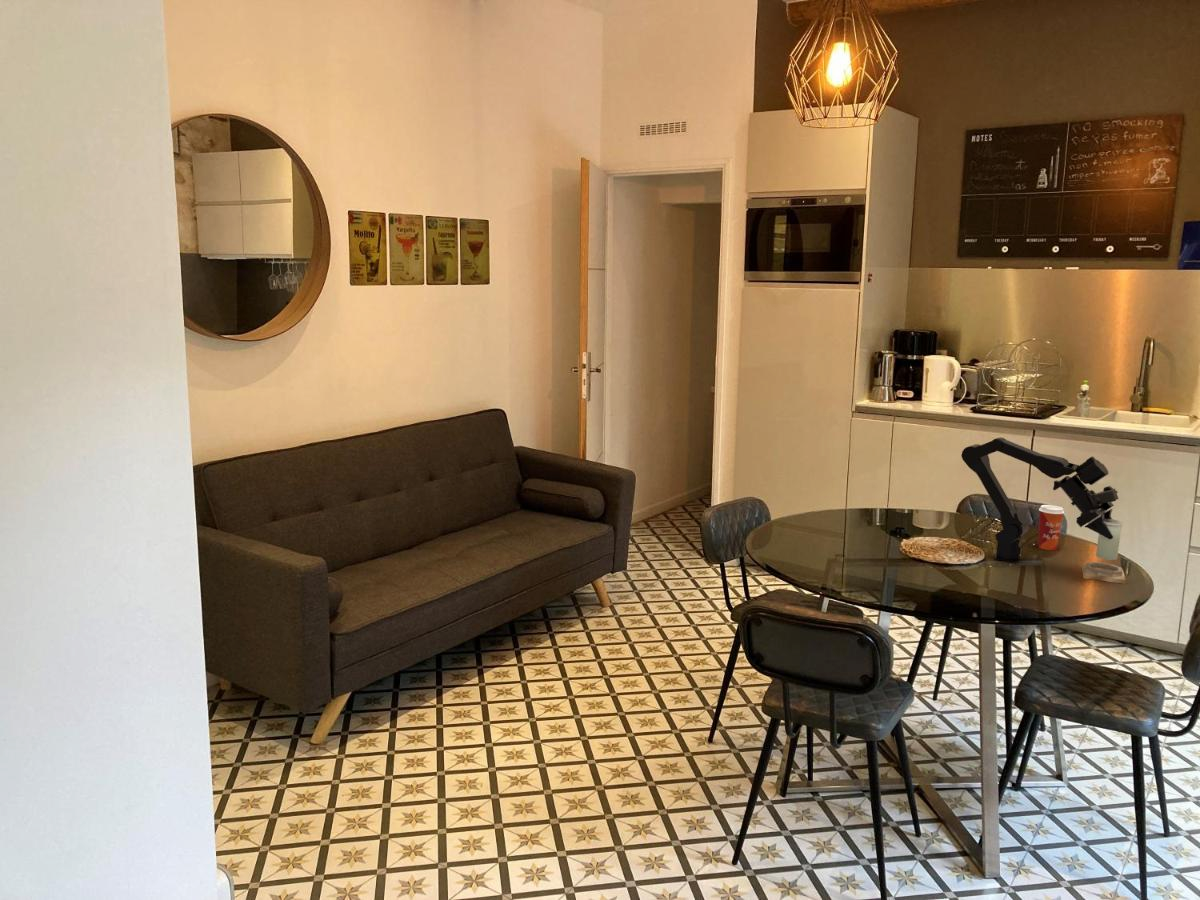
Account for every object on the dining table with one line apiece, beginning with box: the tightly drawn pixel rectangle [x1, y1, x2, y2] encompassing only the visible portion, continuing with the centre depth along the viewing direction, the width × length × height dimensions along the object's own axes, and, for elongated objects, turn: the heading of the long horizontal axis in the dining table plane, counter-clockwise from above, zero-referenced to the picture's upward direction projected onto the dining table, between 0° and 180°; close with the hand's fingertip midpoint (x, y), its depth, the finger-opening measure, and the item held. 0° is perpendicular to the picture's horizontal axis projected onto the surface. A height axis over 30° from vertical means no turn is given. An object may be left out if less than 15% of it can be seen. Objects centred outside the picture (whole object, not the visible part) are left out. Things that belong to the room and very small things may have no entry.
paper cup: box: [1037, 504, 1065, 551], centre depth 311 cm, size 8×8×14 cm
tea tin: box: [1095, 518, 1123, 561], centre depth 279 cm, size 6×6×11 cm
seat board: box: [1081, 561, 1127, 585], centre depth 284 cm, size 11×11×3 cm
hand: (1114, 536), depth 278 cm, fingers closed on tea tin, 6 cm apart
